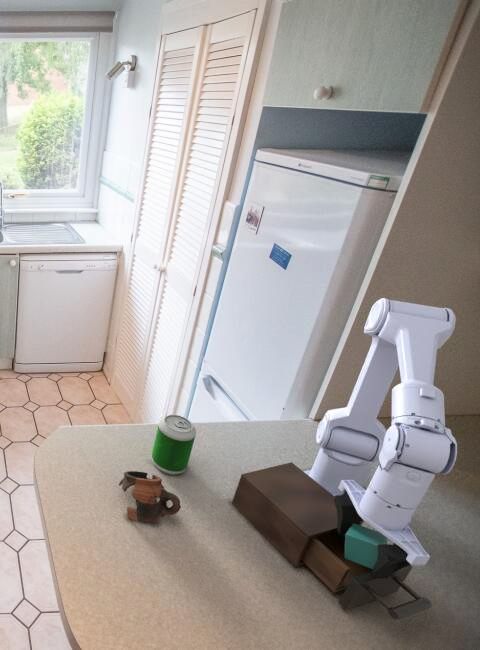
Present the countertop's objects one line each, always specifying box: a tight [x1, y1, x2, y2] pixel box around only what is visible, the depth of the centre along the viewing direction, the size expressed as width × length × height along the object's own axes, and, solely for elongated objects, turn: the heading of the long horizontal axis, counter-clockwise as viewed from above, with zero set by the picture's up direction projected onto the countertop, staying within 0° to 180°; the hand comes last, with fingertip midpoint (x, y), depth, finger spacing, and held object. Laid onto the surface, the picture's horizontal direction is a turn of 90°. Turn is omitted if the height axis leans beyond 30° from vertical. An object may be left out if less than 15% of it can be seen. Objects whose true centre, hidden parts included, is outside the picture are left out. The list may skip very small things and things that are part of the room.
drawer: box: [301, 531, 433, 621], centre depth 77 cm, size 18×11×6 cm, turn 15°
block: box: [345, 523, 388, 569], centre depth 74 cm, size 4×4×4 cm
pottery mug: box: [118, 470, 182, 524], centre depth 91 cm, size 12×10×8 cm
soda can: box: [151, 414, 197, 476], centre depth 101 cm, size 8×8×12 cm
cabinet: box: [231, 462, 365, 568], centre depth 87 cm, size 15×13×8 cm
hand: (360, 554), depth 75 cm, fingers closed on block, 7 cm apart
